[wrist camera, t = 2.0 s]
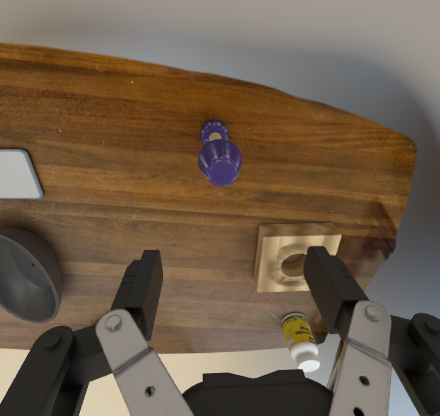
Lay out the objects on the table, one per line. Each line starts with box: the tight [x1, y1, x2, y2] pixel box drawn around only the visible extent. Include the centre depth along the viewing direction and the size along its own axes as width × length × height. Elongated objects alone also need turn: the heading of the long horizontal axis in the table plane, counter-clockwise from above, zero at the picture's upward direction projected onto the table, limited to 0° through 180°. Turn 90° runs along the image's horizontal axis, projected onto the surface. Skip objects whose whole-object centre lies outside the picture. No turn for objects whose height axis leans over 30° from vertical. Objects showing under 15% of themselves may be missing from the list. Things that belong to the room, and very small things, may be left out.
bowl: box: [0, 227, 62, 323], centre depth 46 cm, size 12×22×6 cm, turn 1°
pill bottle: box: [282, 313, 320, 372], centre depth 57 cm, size 6×6×11 cm
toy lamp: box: [198, 120, 242, 187], centre depth 30 cm, size 5×5×17 cm
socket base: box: [254, 223, 342, 292], centre depth 48 cm, size 14×14×4 cm
